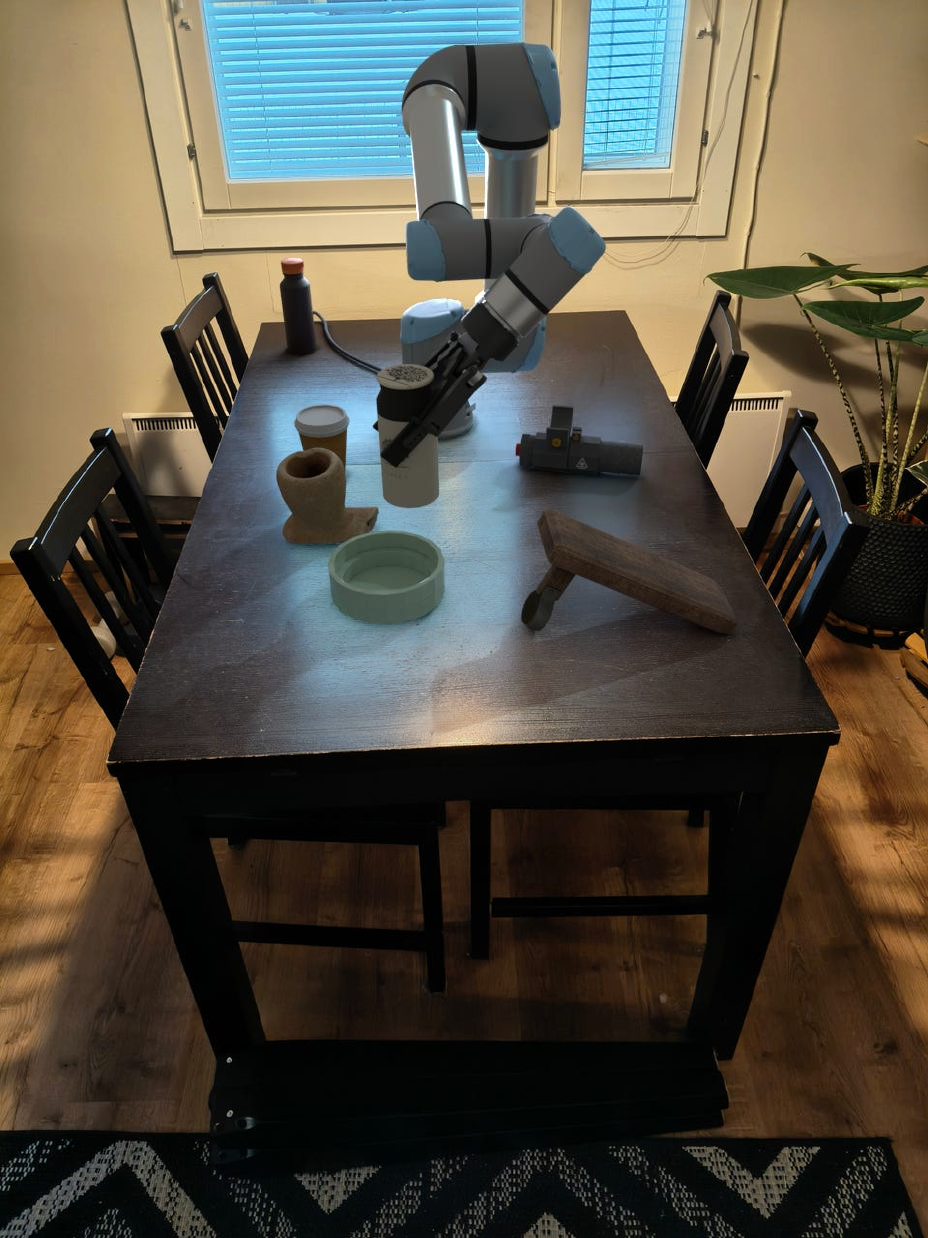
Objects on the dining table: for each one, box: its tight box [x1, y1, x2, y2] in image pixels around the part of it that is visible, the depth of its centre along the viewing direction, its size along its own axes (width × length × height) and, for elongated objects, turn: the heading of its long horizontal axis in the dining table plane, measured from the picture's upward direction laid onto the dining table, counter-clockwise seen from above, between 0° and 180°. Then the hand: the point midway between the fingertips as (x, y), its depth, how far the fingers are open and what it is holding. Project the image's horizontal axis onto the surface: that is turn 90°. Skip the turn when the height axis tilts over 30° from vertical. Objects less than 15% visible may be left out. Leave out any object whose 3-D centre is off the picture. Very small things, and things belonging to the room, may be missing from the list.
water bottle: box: [279, 257, 318, 355], centre depth 208 cm, size 7×7×20 cm
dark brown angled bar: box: [520, 507, 739, 635], centre depth 128 cm, size 10×16×30 cm
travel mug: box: [375, 363, 440, 509], centre depth 124 cm, size 8×8×18 cm
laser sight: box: [514, 404, 645, 476], centre depth 163 cm, size 10×22×10 cm, turn 79°
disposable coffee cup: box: [293, 403, 351, 471], centre depth 161 cm, size 10×10×12 cm
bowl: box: [327, 529, 446, 626], centre depth 134 cm, size 17×17×6 cm
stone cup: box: [275, 448, 380, 546], centre depth 144 cm, size 15×12×15 cm
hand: (384, 446), depth 124 cm, fingers closed on travel mug, 8 cm apart
